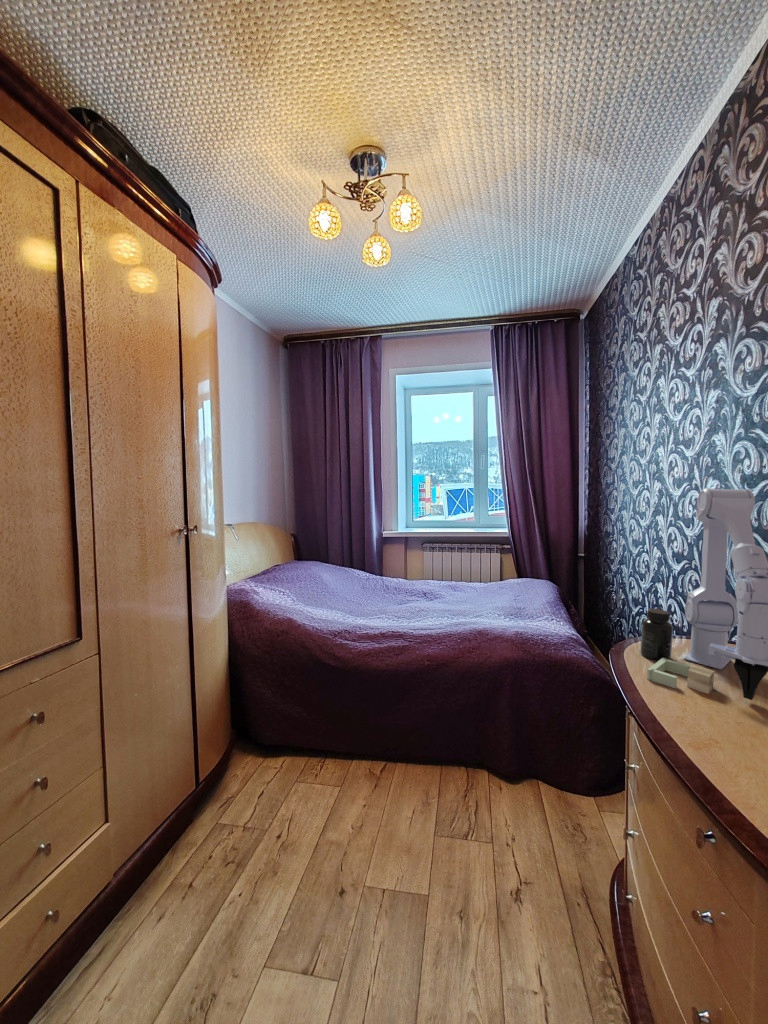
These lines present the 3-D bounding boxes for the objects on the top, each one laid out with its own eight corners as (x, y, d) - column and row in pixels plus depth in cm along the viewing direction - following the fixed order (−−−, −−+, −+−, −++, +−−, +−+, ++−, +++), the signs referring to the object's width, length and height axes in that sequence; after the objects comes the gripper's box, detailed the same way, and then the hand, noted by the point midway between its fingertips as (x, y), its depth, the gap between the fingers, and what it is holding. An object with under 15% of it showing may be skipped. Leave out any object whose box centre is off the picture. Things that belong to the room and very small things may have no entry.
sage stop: (661, 667, 110) (662, 657, 110) (688, 675, 106) (689, 665, 106) (647, 679, 103) (647, 669, 103) (674, 688, 99) (675, 678, 99)
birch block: (692, 681, 103) (693, 665, 102) (713, 688, 100) (714, 671, 99) (686, 687, 100) (688, 670, 100) (708, 694, 97) (709, 676, 97)
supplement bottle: (675, 663, 112) (679, 616, 111) (645, 660, 114) (649, 614, 113) (664, 652, 119) (667, 608, 118) (636, 649, 120) (639, 606, 119)
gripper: (707, 628, 95) (701, 690, 96) (799, 650, 84) (792, 719, 85) (715, 621, 99) (710, 680, 101) (804, 641, 89) (797, 706, 90)
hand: (748, 697), depth 93 cm, fingers closed
